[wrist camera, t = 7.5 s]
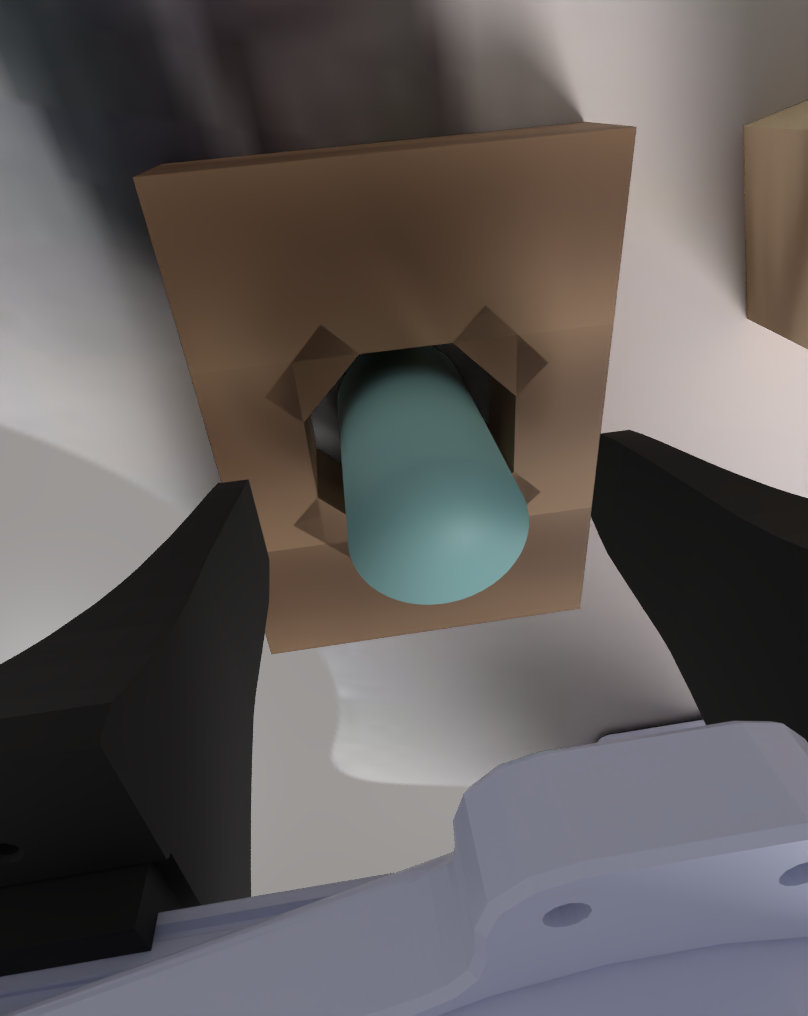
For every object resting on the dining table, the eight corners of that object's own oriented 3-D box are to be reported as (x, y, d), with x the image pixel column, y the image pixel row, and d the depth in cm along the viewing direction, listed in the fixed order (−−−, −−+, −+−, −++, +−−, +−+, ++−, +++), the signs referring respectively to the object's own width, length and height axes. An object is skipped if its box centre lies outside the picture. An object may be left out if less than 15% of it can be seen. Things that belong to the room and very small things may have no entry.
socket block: (552, 555, 20) (579, 608, 18) (275, 595, 19) (271, 653, 17) (585, 122, 13) (636, 126, 11) (161, 163, 13) (132, 177, 11)
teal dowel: (470, 444, 17) (533, 584, 12) (352, 469, 17) (368, 619, 12) (456, 327, 15) (523, 438, 10) (323, 355, 15) (328, 479, 10)
